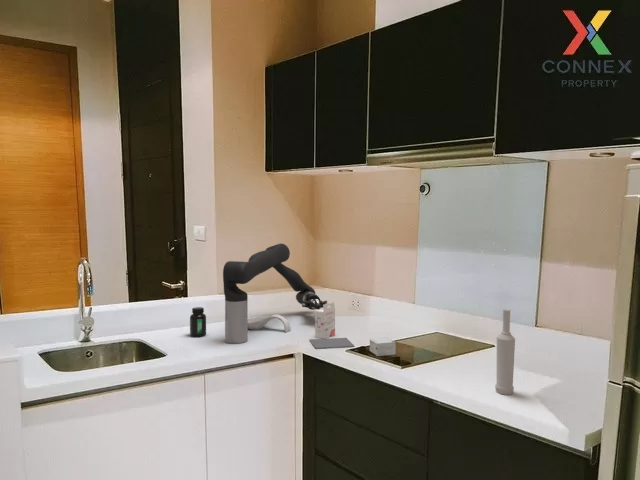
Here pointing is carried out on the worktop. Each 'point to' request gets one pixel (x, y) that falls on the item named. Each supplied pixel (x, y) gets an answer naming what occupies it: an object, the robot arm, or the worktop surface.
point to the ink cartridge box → (325, 321)
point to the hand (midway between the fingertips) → (318, 307)
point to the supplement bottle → (197, 322)
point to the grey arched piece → (261, 322)
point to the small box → (382, 346)
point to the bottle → (505, 357)
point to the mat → (331, 343)
